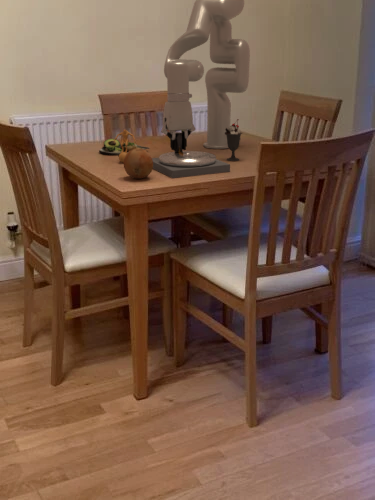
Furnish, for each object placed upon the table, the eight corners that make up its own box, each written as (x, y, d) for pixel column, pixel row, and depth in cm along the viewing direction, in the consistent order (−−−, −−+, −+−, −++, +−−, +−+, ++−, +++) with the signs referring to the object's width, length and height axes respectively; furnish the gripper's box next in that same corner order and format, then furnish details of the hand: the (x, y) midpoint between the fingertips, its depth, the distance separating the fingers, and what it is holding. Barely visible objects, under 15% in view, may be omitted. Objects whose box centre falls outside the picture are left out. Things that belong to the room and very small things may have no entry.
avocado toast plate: (152, 148, 265) (152, 137, 263) (145, 157, 248) (145, 145, 246) (106, 147, 266) (106, 136, 265) (96, 156, 250) (95, 144, 248)
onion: (151, 174, 219) (151, 145, 215) (155, 181, 209) (154, 150, 206) (123, 175, 217) (122, 146, 214) (125, 182, 208) (124, 151, 204)
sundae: (243, 158, 243) (244, 118, 238) (239, 162, 237) (240, 121, 232) (227, 157, 245) (227, 117, 240) (222, 160, 239) (222, 120, 234)
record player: (150, 157, 231) (150, 134, 228) (201, 153, 238) (201, 130, 236) (172, 168, 214) (172, 143, 211) (225, 163, 221) (226, 139, 218)
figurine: (111, 163, 235) (110, 130, 231) (116, 160, 241) (115, 128, 237) (133, 164, 234) (132, 131, 230) (138, 161, 239) (137, 128, 235)
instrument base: (200, 159, 241) (201, 152, 240) (230, 171, 222) (230, 163, 221) (146, 165, 232) (146, 158, 231) (172, 178, 213) (172, 170, 212)
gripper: (194, 95, 232) (194, 146, 239) (152, 98, 226) (153, 150, 232) (203, 97, 226) (203, 149, 232) (161, 100, 219) (162, 153, 225)
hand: (178, 149), depth 232 cm, fingers closed on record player, 3 cm apart
